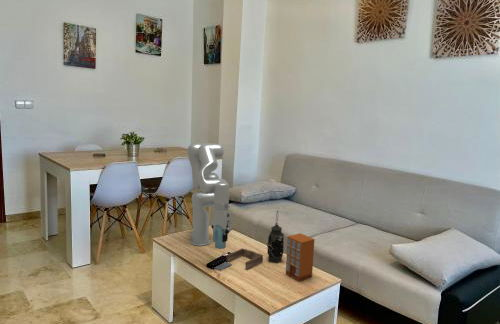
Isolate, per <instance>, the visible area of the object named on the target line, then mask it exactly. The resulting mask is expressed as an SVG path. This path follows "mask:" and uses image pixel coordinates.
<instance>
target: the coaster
mask: <svg viewBox="0 0 500 324" xmlns="http://www.w3.org/2000/svg"><path fill="white" fill-rule="evenodd" d="M231 266H233V263H231V262H229V263H228V262H226V261H225V262H224V263H222V264H220V265H218V266H216V267H214V268H213V269H215V270H217V269H218V271H222V269H223V270H224V269H225V270H226V269H227V268H229V267H231Z"/></svg>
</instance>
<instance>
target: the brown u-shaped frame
mask: <svg viewBox="0 0 500 324" xmlns="http://www.w3.org/2000/svg"><path fill="white" fill-rule="evenodd" d="M242 257H245V258H248V260H247V261H245V266H244V267H245V270H246V271H249V270H250V269H252V268H254V267H257V266H259V265H260V264H262V263H263V260H264V255H263V254H262V253H258V252H256V251H252V250H249V249H247V248H240V249H237V250H236V251H233V252H230V253H228V254H226V260H225V262H226V261H227V262H229V263H231V262H233V261H235V260H237V259H240V258H242Z"/></svg>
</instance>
